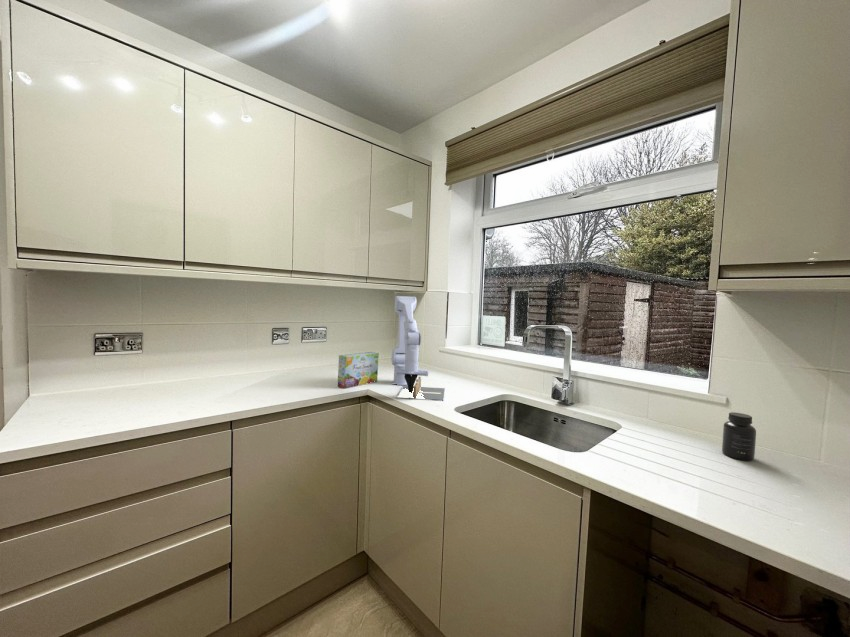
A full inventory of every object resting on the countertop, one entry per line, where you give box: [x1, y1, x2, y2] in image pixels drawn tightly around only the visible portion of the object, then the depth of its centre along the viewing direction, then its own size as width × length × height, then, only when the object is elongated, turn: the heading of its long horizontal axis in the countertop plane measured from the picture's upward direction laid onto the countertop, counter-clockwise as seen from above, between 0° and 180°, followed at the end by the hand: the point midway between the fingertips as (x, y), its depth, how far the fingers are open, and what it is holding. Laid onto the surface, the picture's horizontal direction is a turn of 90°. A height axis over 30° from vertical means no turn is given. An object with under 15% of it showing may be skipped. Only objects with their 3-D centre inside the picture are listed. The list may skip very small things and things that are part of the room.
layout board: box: [402, 376, 445, 402], centre depth 152 cm, size 20×20×6 cm
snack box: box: [337, 351, 380, 389], centre depth 164 cm, size 21×6×15 cm, turn 143°
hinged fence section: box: [413, 381, 419, 398], centre depth 146 cm, size 10×1×4 cm, turn 175°
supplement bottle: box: [721, 411, 757, 462], centre depth 96 cm, size 7×7×12 cm
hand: (410, 391), depth 144 cm, fingers closed
